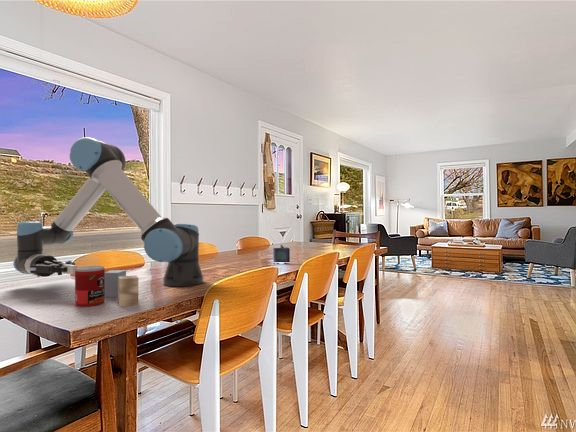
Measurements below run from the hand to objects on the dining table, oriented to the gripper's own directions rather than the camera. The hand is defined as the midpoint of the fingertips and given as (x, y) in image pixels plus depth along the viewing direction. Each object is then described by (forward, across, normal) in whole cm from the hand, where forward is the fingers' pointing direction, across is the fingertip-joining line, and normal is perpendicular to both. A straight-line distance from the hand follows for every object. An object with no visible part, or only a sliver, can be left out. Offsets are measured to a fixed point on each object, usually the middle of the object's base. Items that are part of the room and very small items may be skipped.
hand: (74, 269), depth 109 cm
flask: (+10, -103, -11) cm, 104 cm away
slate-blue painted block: (+5, -10, -10) cm, 15 cm away
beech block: (+19, -6, -10) cm, 22 cm away
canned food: (+9, 0, -10) cm, 14 cm away
